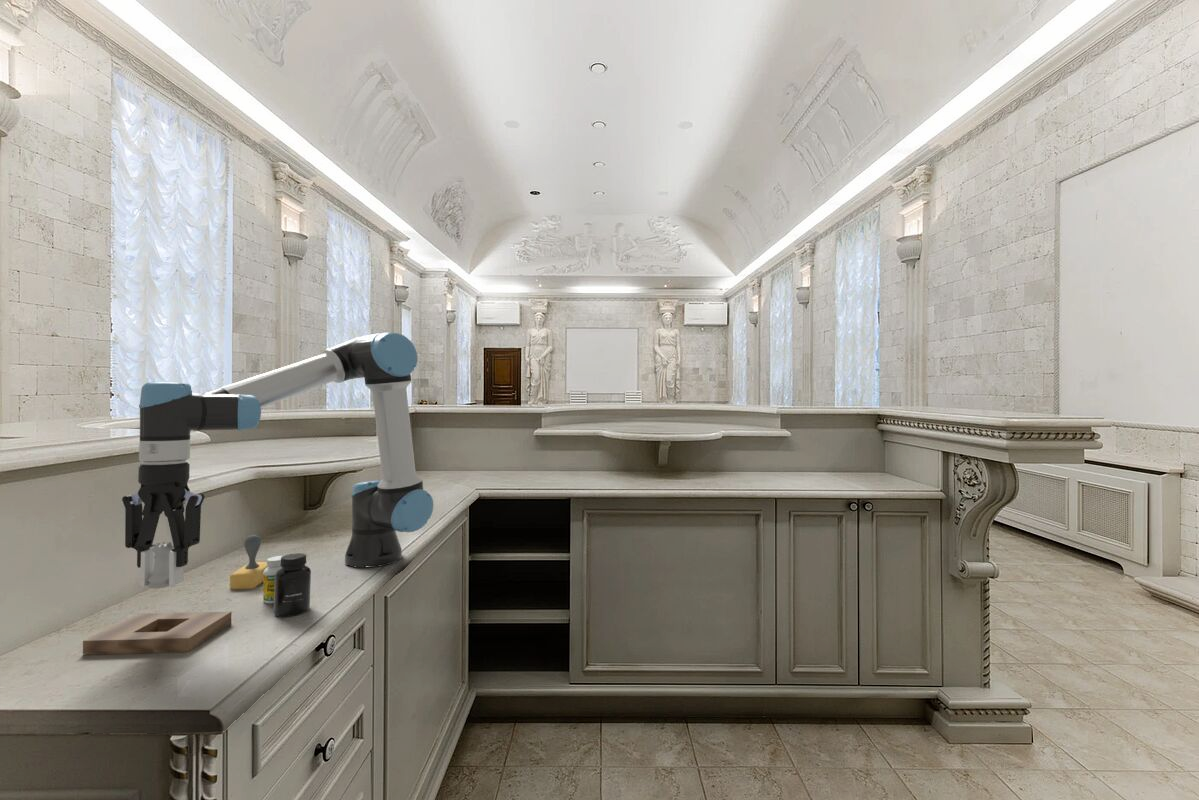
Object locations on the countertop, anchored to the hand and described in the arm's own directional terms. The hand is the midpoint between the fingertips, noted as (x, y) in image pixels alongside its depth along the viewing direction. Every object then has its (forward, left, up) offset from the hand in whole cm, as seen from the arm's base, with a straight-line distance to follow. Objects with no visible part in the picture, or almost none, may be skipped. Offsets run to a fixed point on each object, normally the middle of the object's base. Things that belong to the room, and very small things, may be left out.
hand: (162, 583), depth 98 cm
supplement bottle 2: (-18, -12, -11) cm, 24 cm away
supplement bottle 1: (-11, -19, -11) cm, 25 cm away
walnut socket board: (0, 0, -10) cm, 10 cm away
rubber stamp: (+2, -32, -11) cm, 34 cm away
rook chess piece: (0, 0, 0) cm, 0 cm away
